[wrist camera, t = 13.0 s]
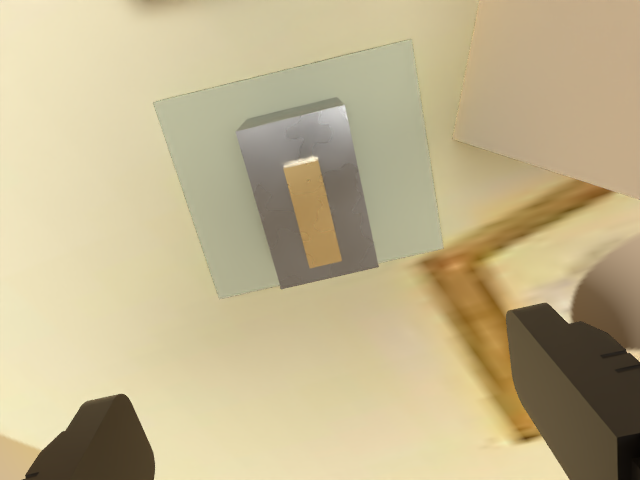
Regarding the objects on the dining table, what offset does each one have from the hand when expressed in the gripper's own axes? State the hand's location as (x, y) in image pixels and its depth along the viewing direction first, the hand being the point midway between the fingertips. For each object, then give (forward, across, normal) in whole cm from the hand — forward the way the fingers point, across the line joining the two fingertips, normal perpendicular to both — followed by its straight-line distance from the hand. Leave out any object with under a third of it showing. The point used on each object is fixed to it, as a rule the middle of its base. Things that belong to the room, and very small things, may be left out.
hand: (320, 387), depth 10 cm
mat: (+20, 0, 0) cm, 20 cm away
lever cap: (+19, 0, 0) cm, 19 cm away
